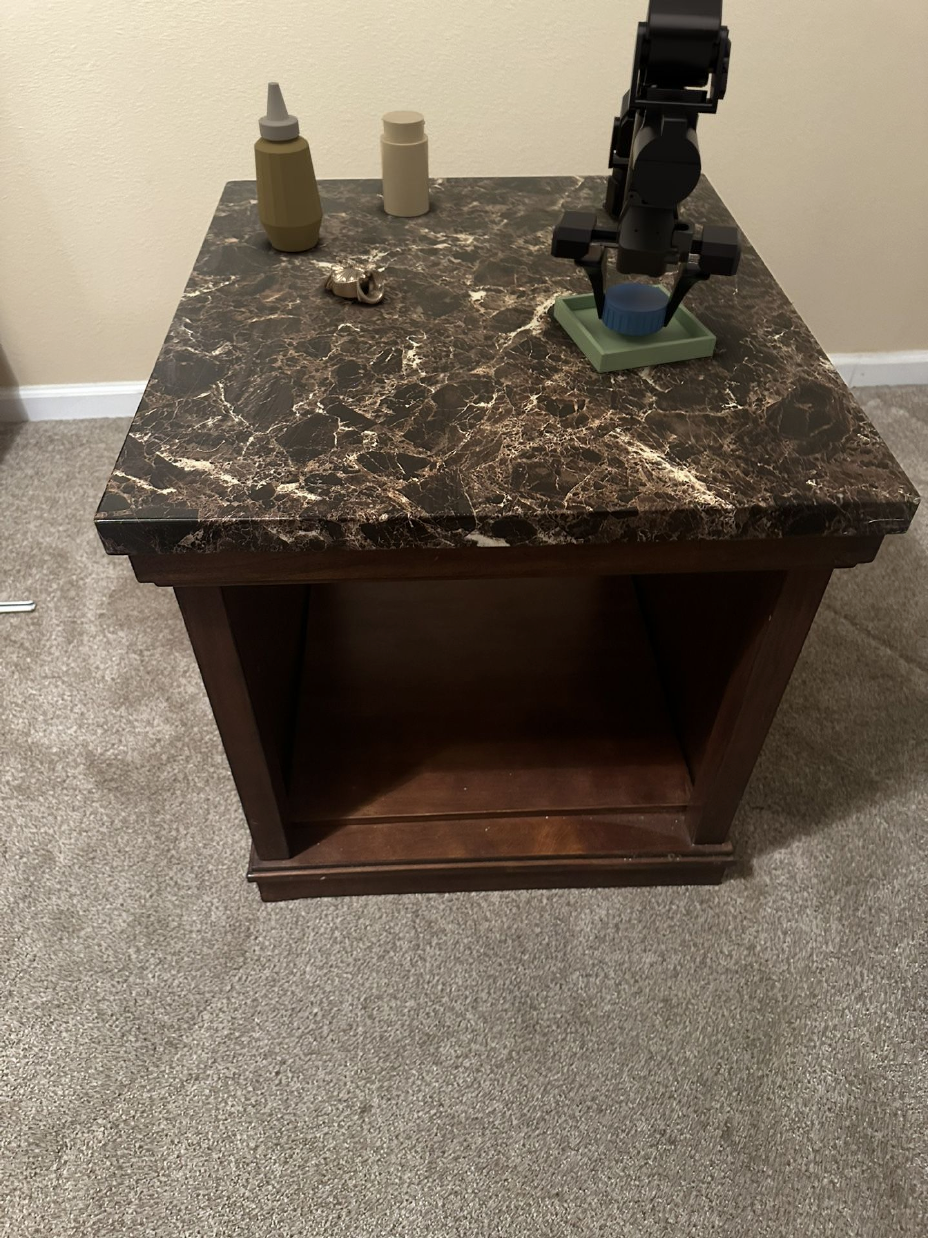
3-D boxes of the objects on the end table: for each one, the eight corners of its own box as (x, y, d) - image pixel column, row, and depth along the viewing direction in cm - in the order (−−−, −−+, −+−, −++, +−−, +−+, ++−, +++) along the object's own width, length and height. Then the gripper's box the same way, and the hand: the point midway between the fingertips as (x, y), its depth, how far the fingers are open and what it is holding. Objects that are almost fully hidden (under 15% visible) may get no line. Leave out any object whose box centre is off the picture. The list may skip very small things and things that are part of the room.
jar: (422, 197, 119) (420, 107, 110) (434, 214, 115) (433, 121, 106) (379, 201, 117) (373, 110, 109) (389, 218, 113) (384, 125, 105)
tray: (657, 301, 97) (661, 283, 96) (712, 355, 89) (717, 337, 87) (553, 315, 95) (555, 297, 93) (599, 373, 86) (601, 354, 84)
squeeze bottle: (336, 236, 109) (320, 77, 96) (308, 260, 104) (288, 96, 91) (281, 227, 111) (259, 70, 98) (251, 251, 105) (223, 88, 92)
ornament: (402, 291, 98) (400, 261, 96) (364, 313, 94) (362, 282, 92) (351, 273, 101) (348, 243, 99) (312, 294, 97) (309, 263, 95)
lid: (597, 331, 88) (600, 307, 87) (604, 302, 93) (608, 279, 91) (662, 339, 87) (667, 315, 86) (666, 310, 92) (671, 286, 90)
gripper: (549, 188, 75) (536, 346, 86) (759, 208, 72) (717, 369, 84) (566, 148, 83) (552, 299, 94) (757, 165, 80) (719, 318, 91)
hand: (632, 321), depth 91 cm, fingers closed on lid, 7 cm apart
